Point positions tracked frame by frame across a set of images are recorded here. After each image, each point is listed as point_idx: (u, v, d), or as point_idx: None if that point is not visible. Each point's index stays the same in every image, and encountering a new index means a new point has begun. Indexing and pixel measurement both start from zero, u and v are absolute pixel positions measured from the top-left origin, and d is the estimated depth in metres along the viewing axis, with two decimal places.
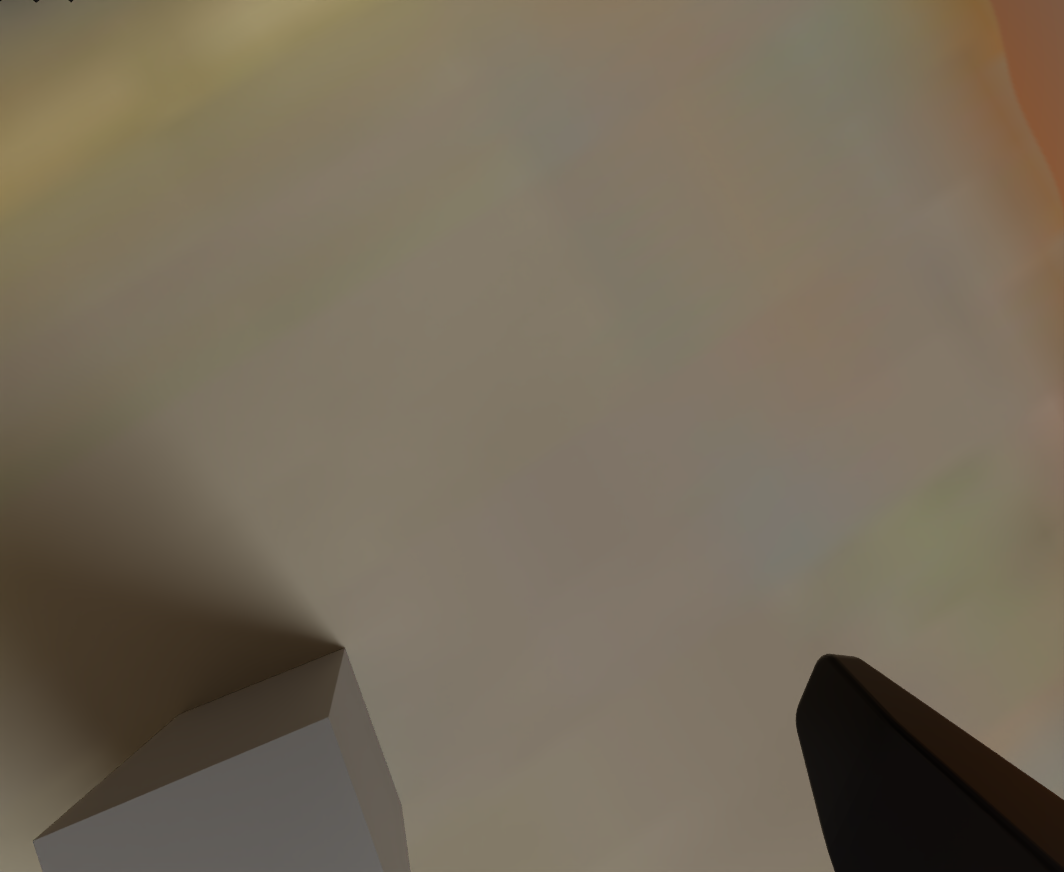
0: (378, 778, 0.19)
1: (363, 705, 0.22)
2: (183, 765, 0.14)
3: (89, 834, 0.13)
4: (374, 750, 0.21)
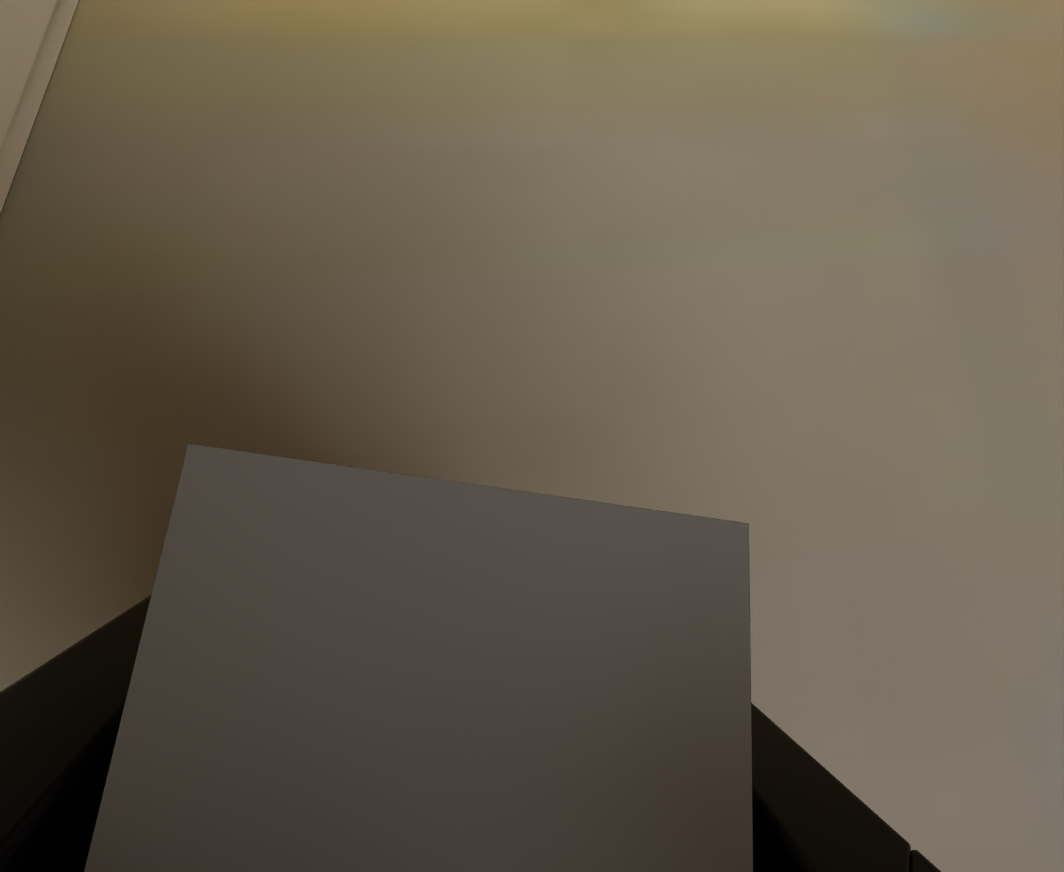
0: None
1: None
2: None
3: (284, 486, 0.06)
4: None
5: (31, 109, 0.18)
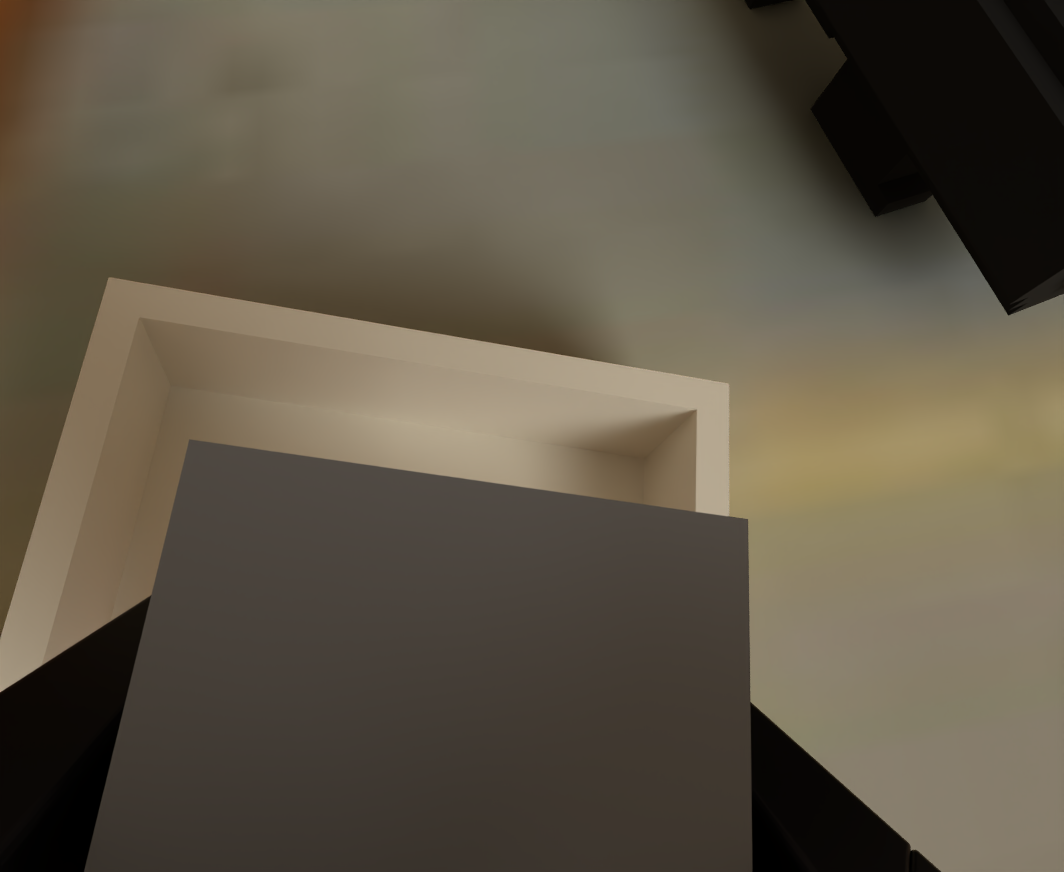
0: None
1: None
2: None
3: (284, 482, 0.06)
4: None
5: None
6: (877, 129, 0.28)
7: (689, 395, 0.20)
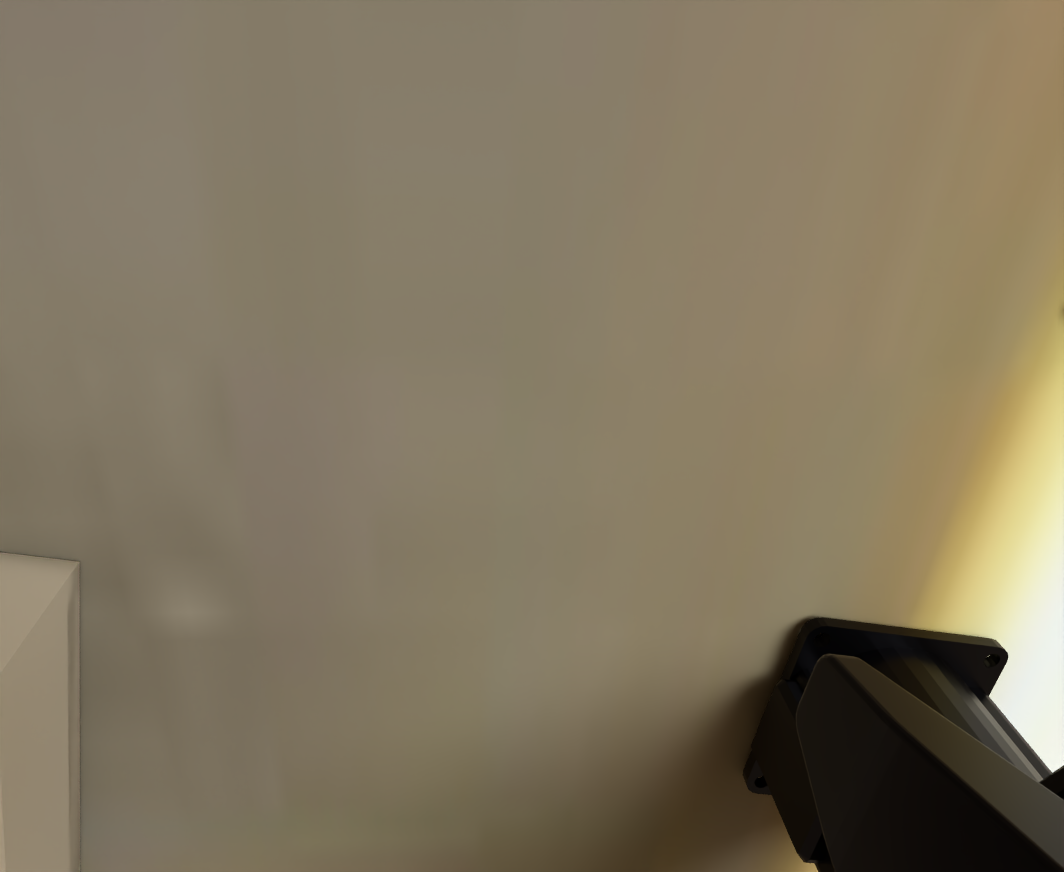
0: None
1: None
2: None
3: None
4: None
5: None
6: None
7: None
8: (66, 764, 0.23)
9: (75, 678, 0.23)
